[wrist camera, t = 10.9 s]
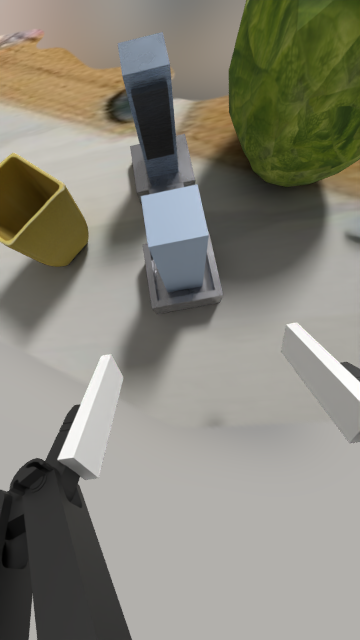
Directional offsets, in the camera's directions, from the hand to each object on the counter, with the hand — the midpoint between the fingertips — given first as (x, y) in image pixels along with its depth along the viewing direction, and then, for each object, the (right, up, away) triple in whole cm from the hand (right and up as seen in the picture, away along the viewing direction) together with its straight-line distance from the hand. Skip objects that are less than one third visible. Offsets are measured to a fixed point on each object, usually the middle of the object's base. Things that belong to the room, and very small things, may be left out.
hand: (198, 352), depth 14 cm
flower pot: (-19, +14, +14) cm, 27 cm away
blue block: (-1, +9, +10) cm, 13 cm away
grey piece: (-3, +17, +13) cm, 22 cm away
